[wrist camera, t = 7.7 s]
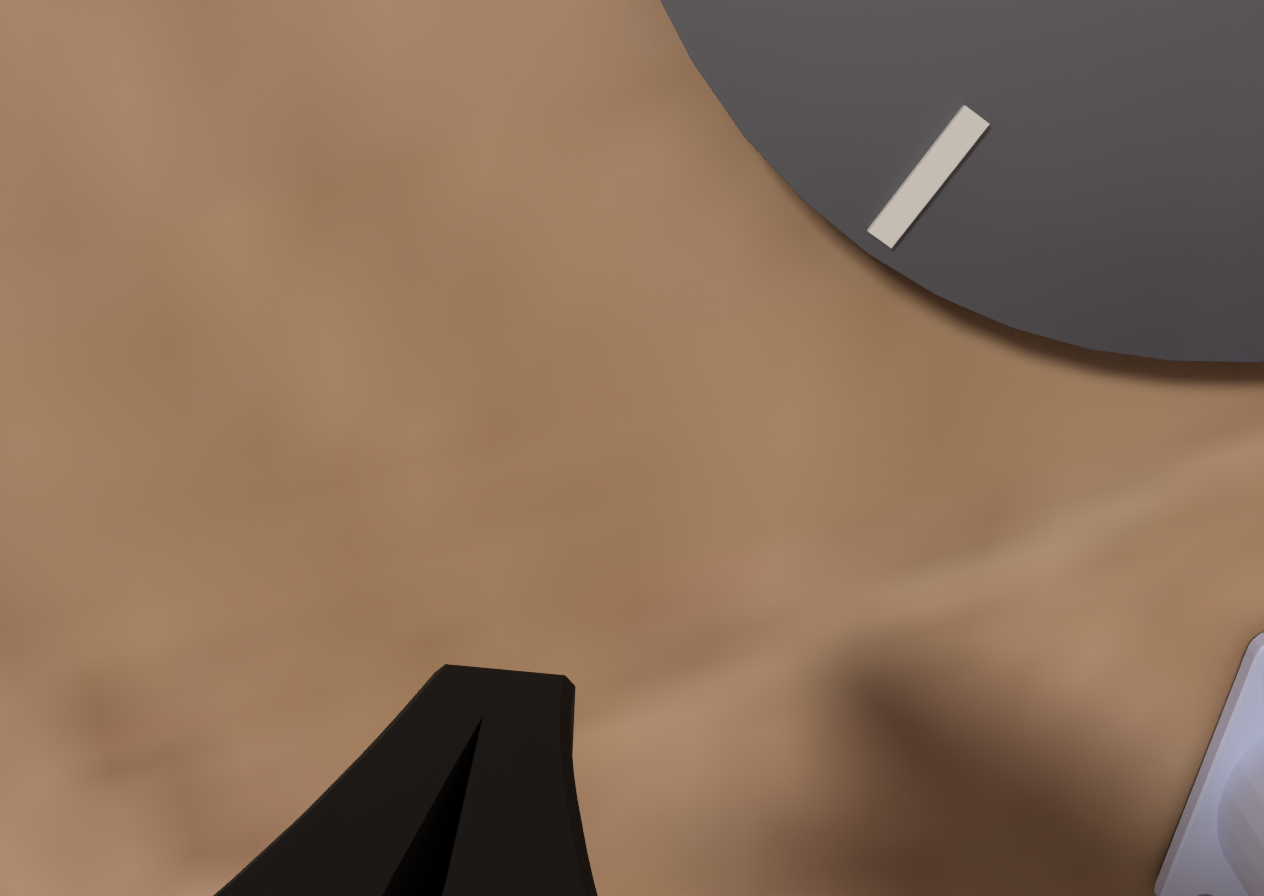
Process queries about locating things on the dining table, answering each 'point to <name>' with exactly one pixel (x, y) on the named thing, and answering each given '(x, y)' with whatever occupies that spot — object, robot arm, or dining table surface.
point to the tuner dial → (1022, 152)
